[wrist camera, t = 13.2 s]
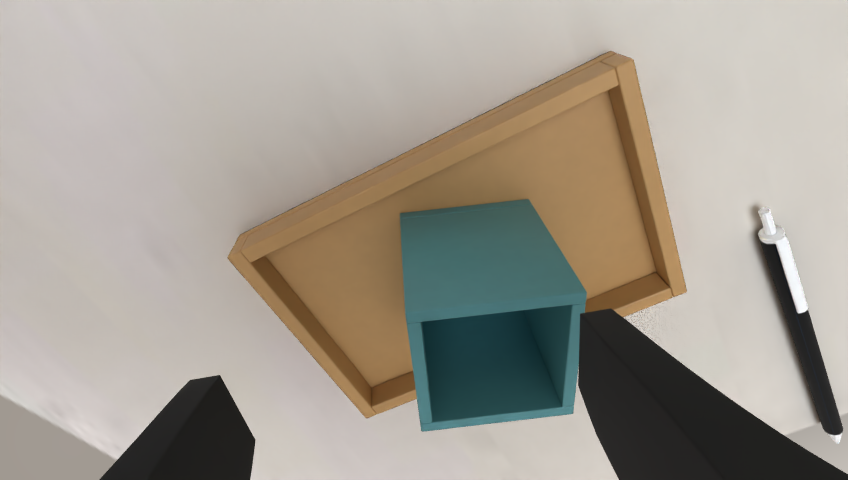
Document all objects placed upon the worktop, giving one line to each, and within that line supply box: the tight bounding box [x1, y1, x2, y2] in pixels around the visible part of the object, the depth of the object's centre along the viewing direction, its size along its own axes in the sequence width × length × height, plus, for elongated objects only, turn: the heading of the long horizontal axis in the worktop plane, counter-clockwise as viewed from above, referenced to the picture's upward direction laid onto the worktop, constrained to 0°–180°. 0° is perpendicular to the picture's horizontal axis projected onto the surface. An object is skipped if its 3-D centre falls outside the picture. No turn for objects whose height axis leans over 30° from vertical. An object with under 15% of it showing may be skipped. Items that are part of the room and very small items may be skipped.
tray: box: [228, 51, 687, 418], centre depth 19 cm, size 15×10×2 cm
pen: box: [758, 207, 843, 444], centre depth 23 cm, size 1×19×1 cm, turn 33°
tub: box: [400, 199, 587, 431], centre depth 16 cm, size 5×5×6 cm
